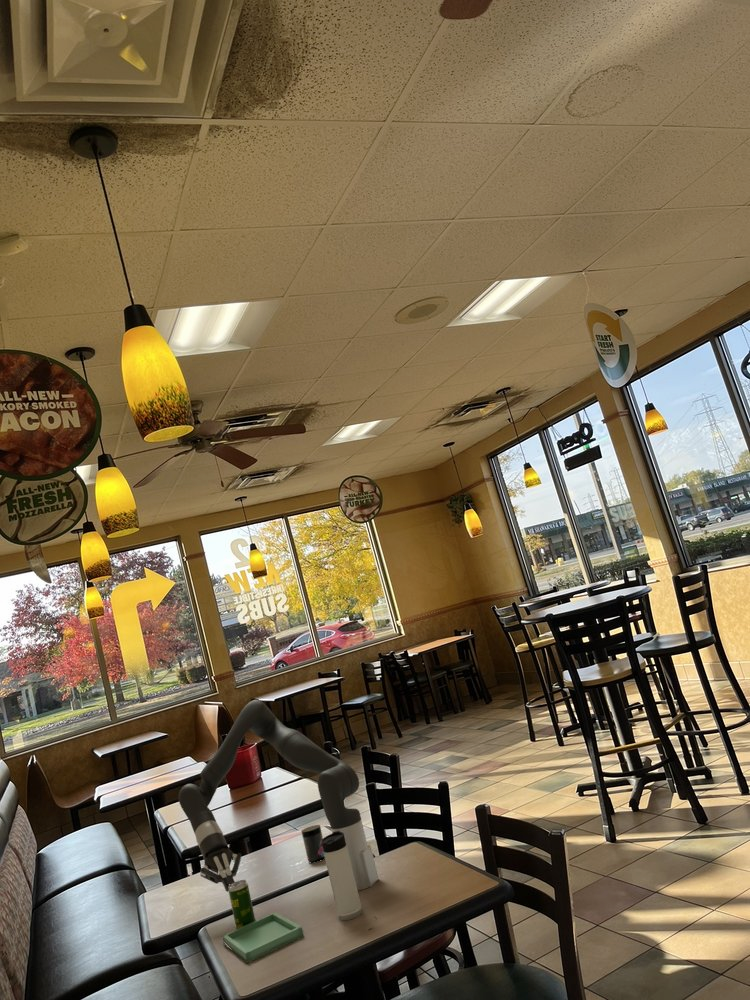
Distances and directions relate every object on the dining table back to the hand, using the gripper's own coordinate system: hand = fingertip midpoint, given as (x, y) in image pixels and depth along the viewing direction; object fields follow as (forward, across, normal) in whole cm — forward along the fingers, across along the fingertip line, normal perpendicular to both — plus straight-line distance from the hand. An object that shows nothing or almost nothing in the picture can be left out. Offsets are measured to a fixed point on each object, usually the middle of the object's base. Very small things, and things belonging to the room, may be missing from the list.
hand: (231, 890), depth 206 cm
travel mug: (+29, -21, +16) cm, 39 cm away
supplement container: (-14, -38, -28) cm, 49 cm away
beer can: (+12, 0, -1) cm, 12 cm away
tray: (+21, 0, +8) cm, 23 cm away
